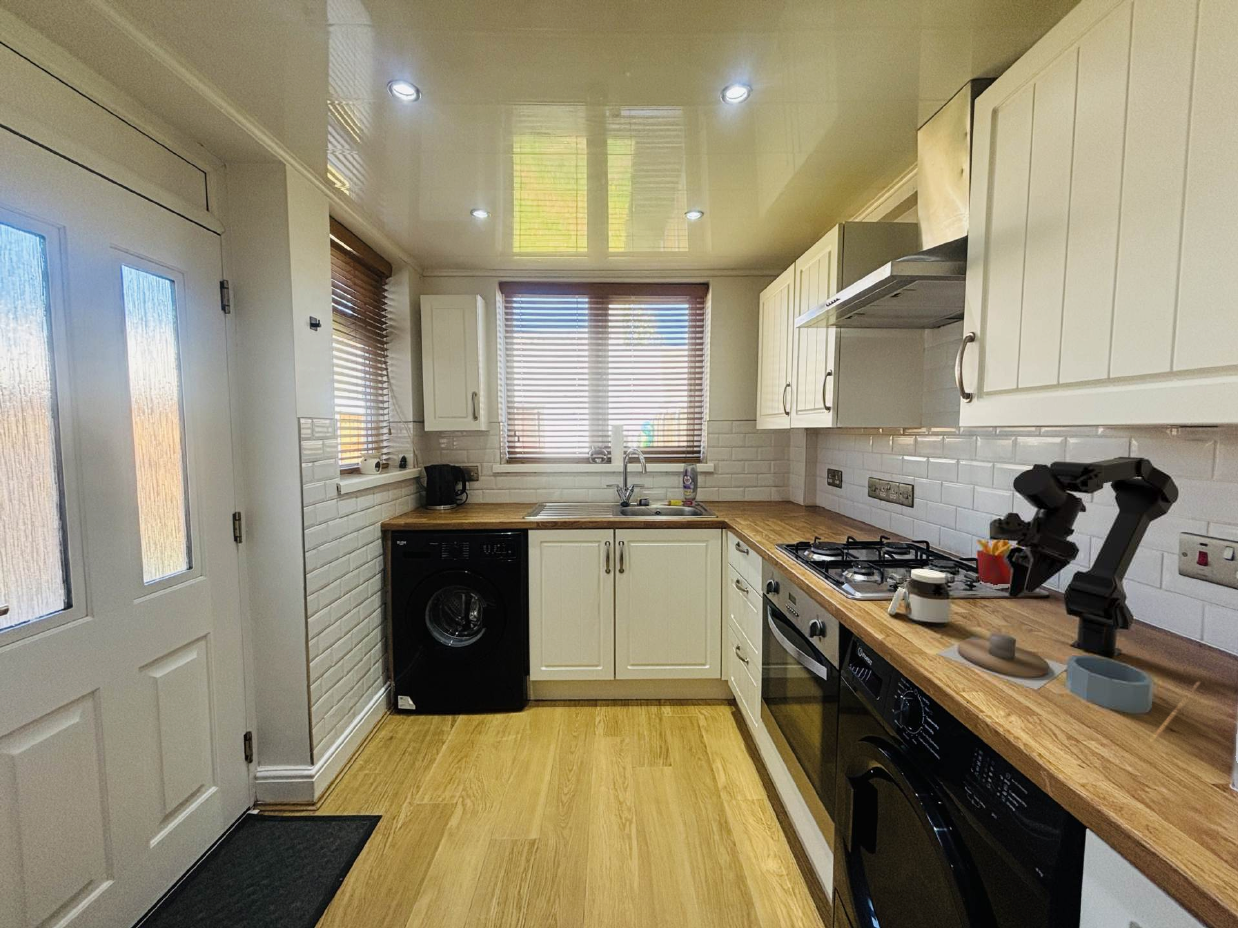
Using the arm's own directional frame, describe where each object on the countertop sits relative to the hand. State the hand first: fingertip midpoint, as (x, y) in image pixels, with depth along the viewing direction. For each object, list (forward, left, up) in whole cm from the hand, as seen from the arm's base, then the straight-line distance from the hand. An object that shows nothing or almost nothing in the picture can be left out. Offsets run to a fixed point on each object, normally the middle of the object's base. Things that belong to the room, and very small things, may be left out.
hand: (1019, 594), depth 92 cm
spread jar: (-9, -23, -15) cm, 29 cm away
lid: (-1, -3, -14) cm, 14 cm away
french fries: (-55, -23, -15) cm, 62 cm away
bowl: (-1, +12, -14) cm, 19 cm away
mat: (-1, -3, -14) cm, 15 cm away
